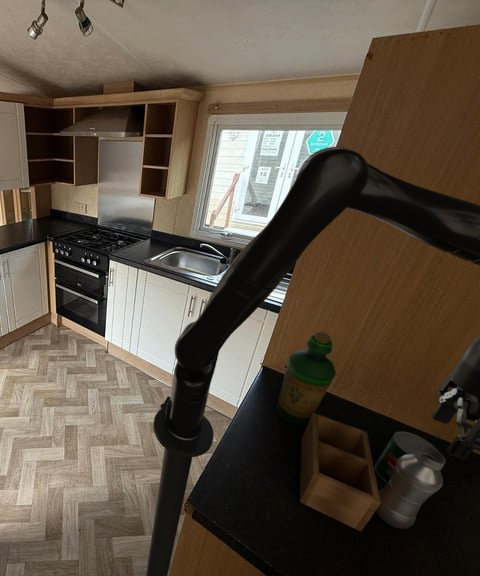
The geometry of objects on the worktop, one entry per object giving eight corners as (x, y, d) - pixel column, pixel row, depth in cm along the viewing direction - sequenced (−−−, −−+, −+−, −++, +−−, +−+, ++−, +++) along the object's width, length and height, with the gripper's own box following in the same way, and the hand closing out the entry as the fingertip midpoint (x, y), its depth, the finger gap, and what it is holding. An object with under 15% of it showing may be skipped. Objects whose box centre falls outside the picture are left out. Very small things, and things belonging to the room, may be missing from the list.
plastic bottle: (382, 530, 65) (428, 469, 56) (362, 497, 71) (400, 436, 62) (417, 535, 64) (469, 474, 55) (393, 501, 70) (436, 440, 61)
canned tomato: (379, 484, 73) (399, 453, 68) (370, 456, 80) (388, 426, 75) (423, 499, 70) (448, 468, 65) (410, 469, 76) (432, 438, 72)
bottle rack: (299, 502, 70) (313, 474, 65) (301, 439, 84) (312, 412, 80) (361, 532, 64) (380, 503, 60) (351, 459, 79) (367, 431, 74)
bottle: (278, 427, 88) (309, 346, 75) (267, 398, 97) (292, 322, 85) (320, 433, 86) (358, 351, 73) (304, 403, 95) (335, 326, 83)
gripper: (450, 337, 56) (409, 402, 63) (483, 385, 45) (430, 458, 53) (511, 351, 53) (461, 419, 60) (563, 407, 42) (494, 481, 49)
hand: (446, 437), depth 56 cm, fingers open, 8 cm apart
